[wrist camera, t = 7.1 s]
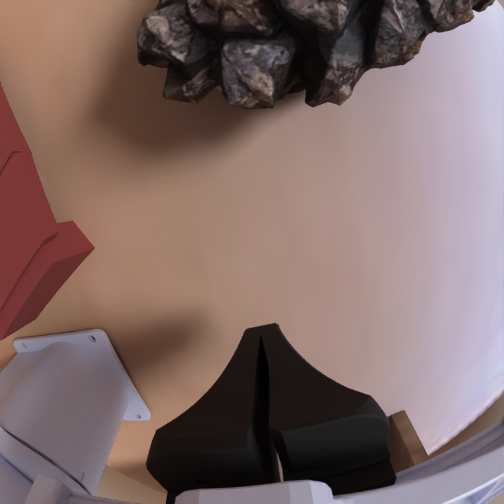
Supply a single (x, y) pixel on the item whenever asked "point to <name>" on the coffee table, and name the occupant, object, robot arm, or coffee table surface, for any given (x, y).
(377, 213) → the coffee table surface
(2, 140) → the carton
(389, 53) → the pine cone
